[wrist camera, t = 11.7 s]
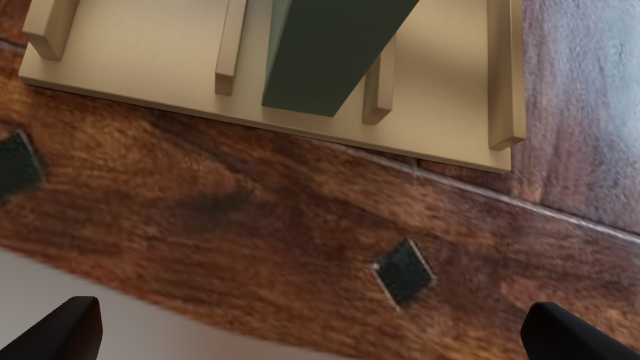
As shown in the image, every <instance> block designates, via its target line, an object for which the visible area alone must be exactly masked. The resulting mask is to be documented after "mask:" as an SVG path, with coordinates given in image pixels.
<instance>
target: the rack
mask: <svg viewBox="0 0 640 360" xmlns="http://www.w3.org/2000/svg"><path fill="white" fill-rule="evenodd" d="M272 5H273V0H32V2H31V5H30V8H29V11H28V14H27V17H26V20H25V23H24V26H23V29H22V33H23V34H24V35H25V37H26V38H27V39H28V41H29V43H28V46H27V49H26V52H25V55H24V58H23V61H22V64H21V67H20V70H19V73H18V76H19V78H20V79H21V80H22V81H23V82H24V83H25V84H29V85H34V86H40V87H45V88H50V89H56V90H61V91H66V92H71V93H77V94H82V95H87V96H93V97H98V98H103V99H108V100H114V101H119V102H124V103H130V104H135V105H140V106H145V107H151V108H156V109H161V110H167V111H172V112H177V113H182V114H188V115H193V116H198V117H204V118H209V119H214V120H219V121H225V122H230V123H235V124H241V125H246V126H251V127H256V128H262V129H267V130H272V131H278V132H283V133H288V134H293V135H299V136H304V137H309V138H315V139H320V140H325V141H331V142H336V143H341V144H346V145H352V146H357V147H362V148H368V149H373V150H378V151H383V152H389V153H394V154H399V155H405V156H410V157H415V158H420V159H426V160H431V161H436V162H442V163H447V164H452V165H457V166H463V167H468V168H473V169H479V170H484V171H489V172H494V173H500V174H503V173H506V172H508V171H511V147H510V146H513V145H515V144H517V143H519V142H521V141H524V140H526V138H527V134H526V106H525V79H524V51H523V23H522V0H420V1H419V2H418V3H417V5H416V6H415V7H414V9H413V10H412V11H411V13H410V14H409V16H408V17H407V18H406V20H405V21H404V22H403V24H402V25H401V26H400V28H399V29H398V30H397V32H396V33H395V34H394V36H393V37H392V39H391V40H390V41H389V43H388V44H387V45H386V47H385V48H384V49H383V51H382V52H381V53H380V55H379V56H378V57H377V59H376V60H375V61H374V63H373V64H372V66H371V67H370V68H369V70H368V71H367V72H366V74H365V75H364V76H363V78H362V79H361V80H360V82H359V83H358V84H357V86H356V87H355V89H354V90H353V91H352V93H351V94H350V95H349V97H348V98H347V99H346V101H345V102H344V103H343V105H342V106H341V107H340V109H339V110H338V111H337V113H336V114H335V116H334V117H328V116H321V115H315V114H309V113H303V112H296V111H290V110H284V109H278V108H271V107H265V106H261V102H262V94H263V91H264V83H265V74H266V64H267V54H268V44H269V34H270V25H271V15H272Z"/></svg>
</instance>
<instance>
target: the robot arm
mask: <svg viewBox="0 0 640 360" xmlns="http://www.w3.org/2000/svg"><path fill="white" fill-rule="evenodd" d="M102 334H103V327H102V320H101V312H100V305H99V301H98V299H97V298H96V297H92V296H75V297H72V298H70V299H68V300H67V301H66V302H64V303H63V304H62V305H60V306H59V307H58V308H56V309H55V310H53V311H52V312H51V313H49V314H48V315H47V316H45V317H44V318H43V319H42V320H40V321H39V322H37V323H36V324H35V325H33V326H32V327H31V328H29V329H28V330H27V331H25V332H24V333H23V334H21V335H20V336H19V337H17V338H16V339H15V340H13V341H12V342H11V343H9V344H8V345H7V346H5V347H4V348H3V349H1V350H0V360H96V358H97V355H98V351H99V347H100V344H101V340H102ZM520 335H521V340H522V343H523V345H524V348H525V350H526V353H527V355H528V357H529V360H640V354H638V353H636V352H635V351H633V350H631V349H630V348H628V347H626V346H625V345H623V344H621V343H620V342H618V341H616V340H615V339H613V338H612V337H610V336H608V335H607V334H605V333H603V332H602V331H600V330H598V329H597V328H595V327H593V326H592V325H590V324H588V323H587V322H585V321H584V320H582V319H580V318H579V317H577V316H575V315H574V314H572V313H570V312H569V311H567V310H565V309H564V308H562V307H560V306H559V305H557V304H555V303H552V302H536V303H534V304H533V305H532V306H531V308H530V310H529V312H528V314H527V317H526V319H525V321H524V323H523V325H522V327H521V331H520Z"/></svg>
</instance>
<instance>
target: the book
mask: <svg viewBox="0 0 640 360" xmlns="http://www.w3.org/2000/svg"><path fill="white" fill-rule="evenodd" d="M419 1H420V0H273V5H272V15H271V25H270V34H269V44H268V54H267V64H266V74H265V83H264V91H263V94H262V102H261V106H265V107H271V108H278V109H284V110H290V111H296V112H303V113H309V114H315V115H321V116H328V117H334V116H335V114H336V113H337V111H338V110H339V109H340V107H341V106H342V105H343V103H344V102H345V101H346V99H347V98H348V97H349V95H350V94H351V93H352V91H353V90H354V89H355V87H356V86H357V84H358V83H359V82H360V80H361V79H362V78H363V76H364V75H365V74H366V72H367V71H368V70H369V68H370V67H371V66H372V64H373V63H374V61H375V60H376V59H377V57H378V56H379V55H380V53H381V52H382V51H383V49H384V48H385V47H386V45H387V44H388V43H389V41H390V40H391V39H392V37H393V36H394V34H395V33H396V32H397V30H398V29H399V28H400V26H401V25H402V24H403V22H404V21H405V20H406V18H407V17H408V16H409V14H410V13H411V11H412V10H413V9H414V7H415V6H416V5H417V3H418V2H419Z"/></svg>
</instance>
